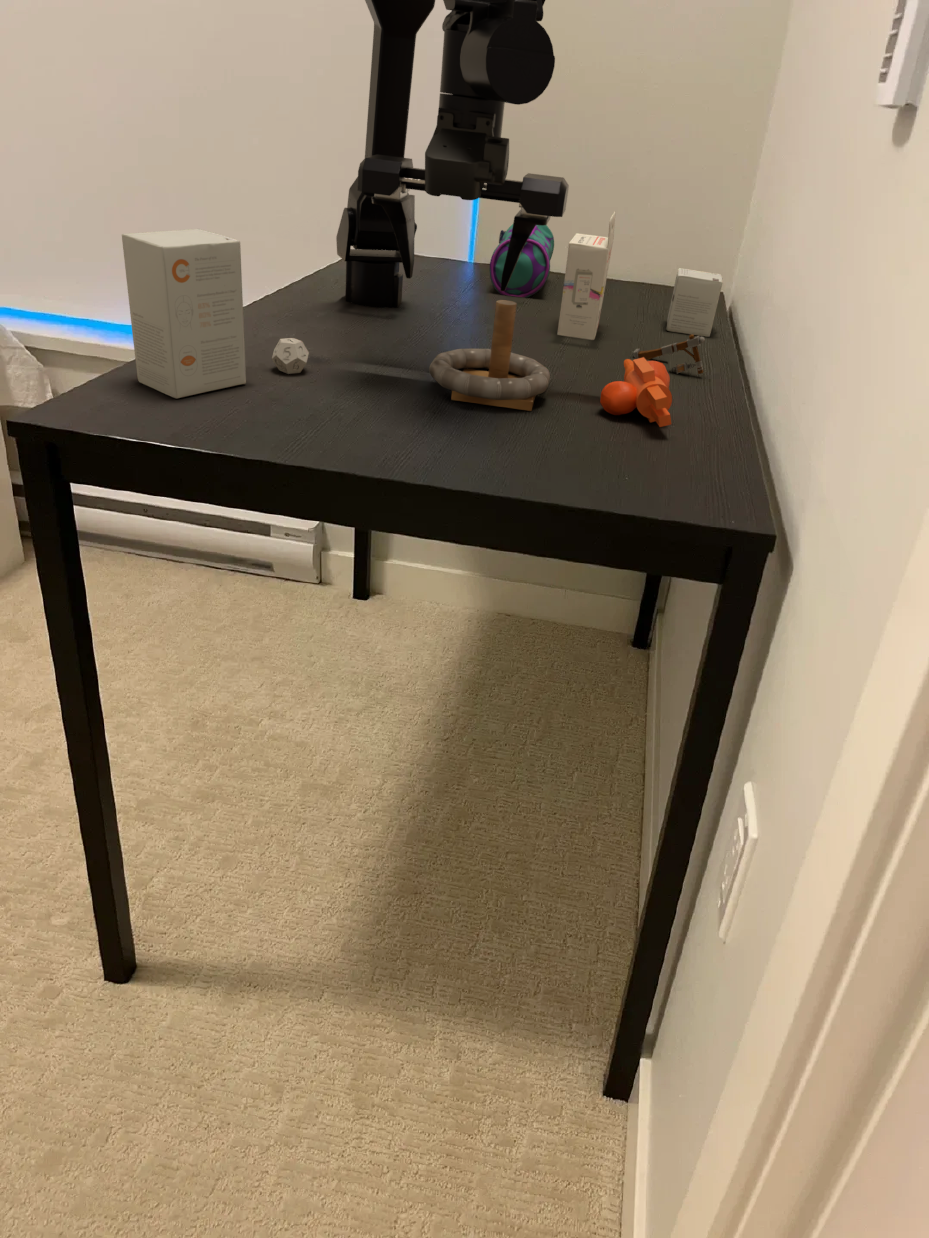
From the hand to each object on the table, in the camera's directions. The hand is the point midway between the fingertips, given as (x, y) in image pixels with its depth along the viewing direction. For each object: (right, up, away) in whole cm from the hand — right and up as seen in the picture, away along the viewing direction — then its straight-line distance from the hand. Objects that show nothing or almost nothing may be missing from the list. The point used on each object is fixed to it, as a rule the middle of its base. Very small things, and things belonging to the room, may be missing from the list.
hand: (455, 284), depth 85 cm
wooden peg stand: (+4, -9, +5) cm, 11 cm away
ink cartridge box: (+15, +4, +28) cm, 32 cm away
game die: (-17, -7, +5) cm, 19 cm away
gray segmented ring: (+3, -7, +4) cm, 9 cm away
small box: (-25, -10, -1) cm, 27 cm away
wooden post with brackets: (+24, -3, +19) cm, 31 cm away
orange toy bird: (+18, -12, +3) cm, 22 cm away
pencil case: (+9, +18, +50) cm, 54 cm away
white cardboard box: (+32, +8, +38) cm, 50 cm away
